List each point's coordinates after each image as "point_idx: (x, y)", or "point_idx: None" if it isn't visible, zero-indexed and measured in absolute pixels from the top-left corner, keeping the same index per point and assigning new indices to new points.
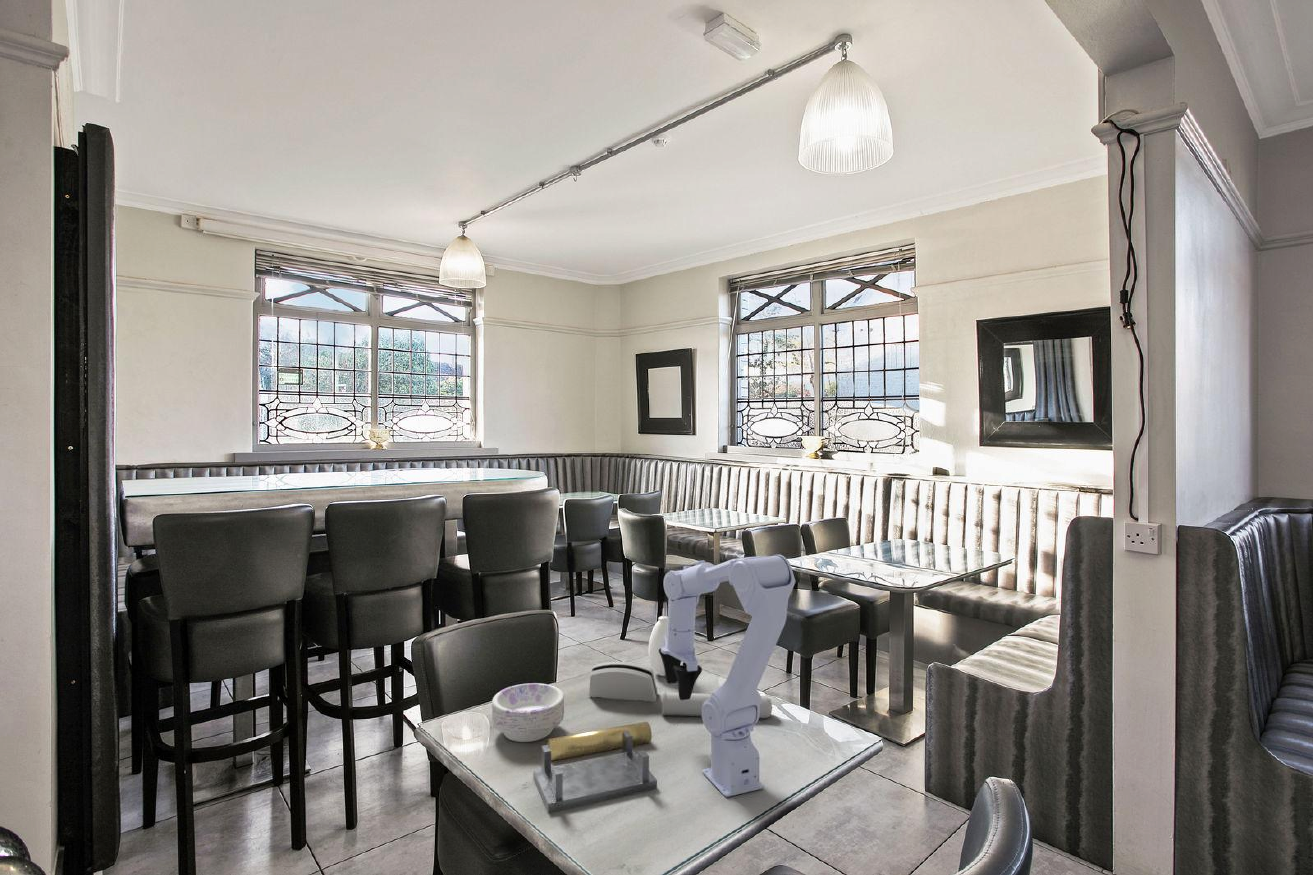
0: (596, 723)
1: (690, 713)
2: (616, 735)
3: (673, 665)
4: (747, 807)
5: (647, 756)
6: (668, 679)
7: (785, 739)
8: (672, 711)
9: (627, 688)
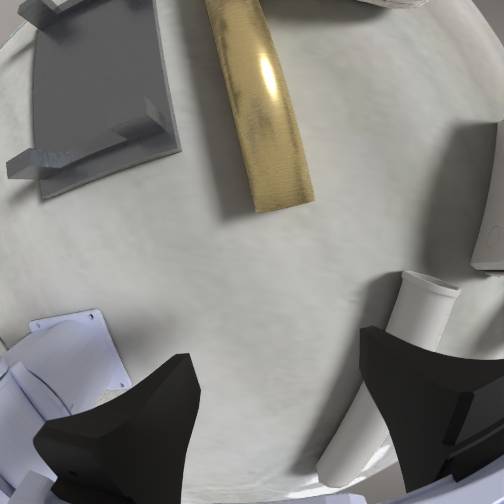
0: (393, 92)
1: None
2: (237, 97)
3: (396, 409)
4: None
5: (7, 174)
6: (367, 341)
7: (232, 470)
8: (399, 300)
9: (502, 199)
